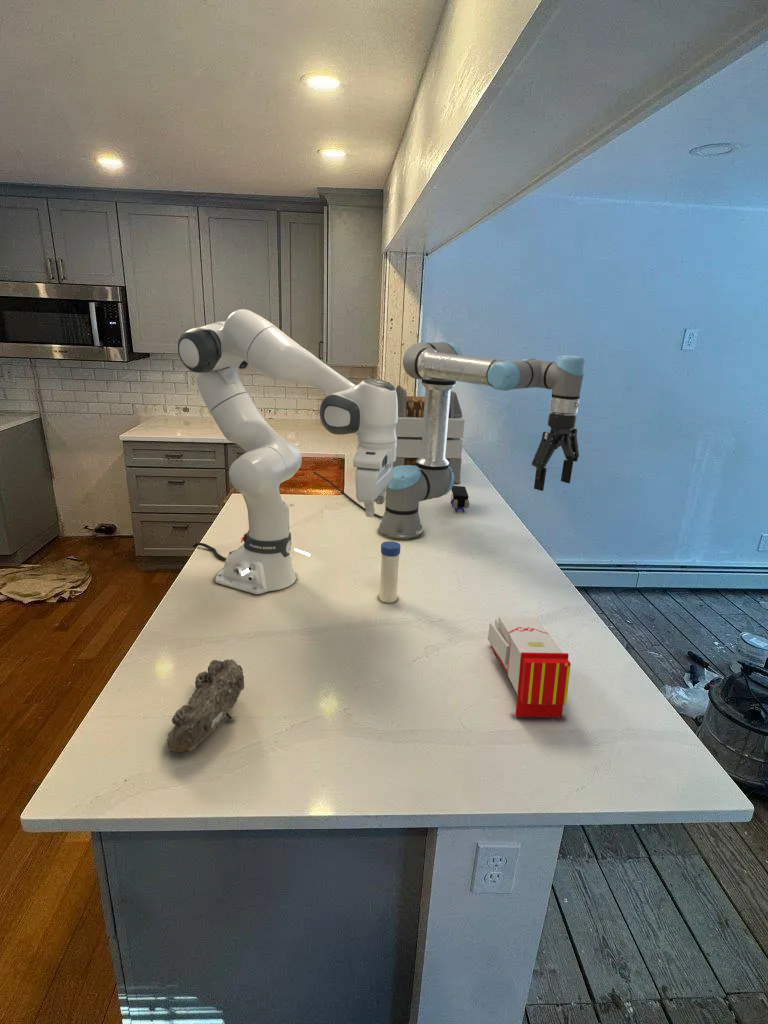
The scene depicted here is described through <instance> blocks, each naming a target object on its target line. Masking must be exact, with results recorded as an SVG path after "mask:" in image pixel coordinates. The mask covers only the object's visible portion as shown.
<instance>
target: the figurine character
mask: <svg viewBox="0 0 768 1024" xmlns="http://www.w3.org/2000/svg"><path fill="white" fill-rule="evenodd" d="M450 491H451V493H452V494H451V495H450V505H451V507H452V508H453V509H454V511H455V512H456V513H458V510H461V511H462V513H465V509H469V506H470V500H469V498H470V496H469V494H468V491H467V488H466V486H461V485H453V487H452V489H451V490H450Z"/></svg>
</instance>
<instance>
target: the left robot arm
mask: <svg viewBox="0 0 768 1024" xmlns="http://www.w3.org/2000/svg"><path fill="white" fill-rule="evenodd" d="M177 353H178V357H179V359H180V361H181V363H182V364H183V365H184V367H185V368H187V369H188V370H189V371H190V372H193V373H196V377H195V382H196V386H197V389H198V390H199V394H200V396H201V399H202V400H203V402H204V404H205V407H206V408H207V410H208V411H209V413H210V415H211V417H212V418H213V420H214V422H215V423H216V425H217V427H218V428H219V430H220V432H221V433H222V435H223V437H224V438H225V439H226V440H227V441H229V442H231V443H233V444H235V445H237V446H238V447H240V448H241V449H242V450H244V452H245V453H242V454H241V455H240V456H239V457H238V458H237V459H235V460H234V461H233V462H232V463H231V464H230V467H229V472H228V477H229V481H230V483H231V485H232V487H233V488H234V489H235V490H236V491H237V492H238V493H240V494H241V495H242V497H243V500H244V503H245V506H246V509H247V519H248V520H247V521H248V530H247V532H245V533H244V534H243V536H242V537H241V538H240V543H243V544H242V545H241V546H239V547H238V548H237V549H234V550H232V551H229V552H228V556H227V557H224V556H222V555H221V554H220V553H218V551H217V550H216V548H215V547H213V546H211V545H209V544H207V543H204V542H196V543H193V545H191V546H192V548H196V547H199V546H200V547H203V548H206V549H209V550H210V551H212V553H213V554H214V556H215V557H217V558H218V559H219V560H222V561H224V564H223V567H222V568H221V569H220V570H219V571H218V572H217V574H215V583H216V584H218V585H223V586H226V587H230V588H233V589H236V590H240V591H243V592H246V593H251V594H253V595H262V594H264V593H267V592H274V591H279V590H283V589H287V588H288V587H290V586H292V585H293V584H294V583H295V582H296V580H297V576H296V574H295V571H294V566H293V562H292V561H293V560H292V555H291V554H292V548H293V547H292V545H293V544H292V533H291V532H290V508H289V506H288V504H287V503H286V502H285V501H284V500H283V499H282V496H281V492H280V486H281V484H282V483H284V482H286V481H288V480H290V479H291V478H293V476H295V475H296V474H297V473H298V471H299V470H300V468H301V466H302V463H303V457H302V454H301V451H300V450H299V448H298V446H296V445H295V444H294V443H292V442H290V441H288V440H286V439H285V438H283V437H282V436H281V435H280V434H279V433H278V432H276V431H275V430H274V428H273V427H272V426H271V425H270V424H269V423H268V422H267V421H266V419H264V417H263V416H262V414H261V412H260V411H259V409H258V408H257V406H256V405H255V402H254V401H253V400H252V398H251V396H250V395H249V393H248V392H247V389H246V388H245V387H244V385H243V384H242V381H241V380H240V378H239V369H241V370H245V369H246V368H247V367H248V366H250V367H252V368H253V370H254V371H256V372H258V373H259V374H261V375H262V376H265V377H266V378H269V379H270V380H273V381H280V382H281V381H282V382H283V381H284V382H296V383H303V384H306V385H310V386H312V387H314V388H315V389H318V390H319V391H320V392H322V393H324V394H325V395H326V396H325V398H323V400H322V401H321V404H320V407H319V418H320V422H321V424H322V426H323V428H324V429H325V430H326V431H328V432H329V433H331V435H332V434H333V435H337V436H344V435H349V434H354V435H356V436H357V448H356V453H355V455H354V457H353V460H352V461H353V463H352V464H353V468H356V469H355V474H354V475H355V496H356V499H357V502H359V503H362V504H363V507H364V508H365V509H366V511H365V516H366V517H367V518H373V517H374V516H375V515H374V514H376V513H375V512H376V508H375V503H376V505H384V503H385V501H386V488H387V485H388V484H389V483H390V482H391V480H392V477H393V462H395V461H396V446H397V437H396V432H395V429H396V425H397V422H398V400H397V392H396V386H394V385H393V384H392V383H390V382H389V381H386V380H385V379H379V378H365V379H363V380H361V381H360V382H359V383H357V382H354V381H353V380H352V379H350V378H348V377H347V376H346V375H344V374H342V372H340V371H338V370H337V369H336V368H334V367H333V366H331V365H330V364H328V363H327V362H325V361H324V360H323V359H321V358H319V357H318V356H316V355H315V354H313V353H312V352H310V351H309V350H307V349H306V348H304V347H303V346H302V345H300V344H299V343H298V342H296V341H295V340H294V339H292V338H291V337H290V336H288V335H287V334H286V333H285V332H283V331H282V330H281V329H280V328H278V327H277V326H276V325H275V324H274V323H272V322H271V321H269V320H268V319H266V318H264V317H262V316H261V315H260V314H257V313H256V312H253V311H251V310H249V309H245V308H241V309H236V310H235V311H233V312H231V314H229V315H228V316H227V318H226V320H222V321H216V322H215V321H214V322H212V323H208V324H206V325H203V326H199V327H193V328H190V329H188V330H186V331H185V332H183V333H182V334H181V335H180V336H179V338H178V341H177ZM294 551H295V552H298V553H300V554H303V555H305V556H307V557H311V553H309V552H306V551H305V550H304V551H303V550H300V549H298V548H294Z"/></svg>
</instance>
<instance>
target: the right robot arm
mask: <svg viewBox="0 0 768 1024" xmlns="http://www.w3.org/2000/svg"><path fill="white" fill-rule="evenodd" d="M585 365H586V360H585V358H584V357H582V356H578V355H566V354H565V355H564V354H563V355H558V356H557V357H556V360H555V361H549V360H541V359H536V358H524V359H521V360H506V359H505V360H504V359H503V360H502V359H496V358H487V357H479V356H471V355H464V354H463V352H462V350H461V349H460V347H459V346H457V345H456V344H455V343H451V342H445V341H443V342H442V341H441V342H440V341H439V342H438V341H437V342H417V343H414V344H412V345H411V346H409V347H408V348H407V350H406V351H405V353H404V355H403V358H402V366H403V369H404V372H405V373H406V374H407V375H408V376H409V377H411V378H412V379H415V380H421V385H422V386H423V387H424V389H425V392H424V397H425V404H424V419H423V434H422V449H421V457H420V458H418V459H417V461H416V466H413V465H401V466H396V467H394V468H393V477H392V480H391V482H390V483H389V484H388V485H387V488H386V493H385V504H384V505H385V507H384V508H385V509H384V513H383V515H380V514H376V513H375V514H374V515H373V516H375V517H377V518H379V519H381V522H379V525H378V533H379V534H380V535H381V536H382V537H385V538H387V539H389V540H395V541H410V540H415V539H418V538H420V537H421V536H422V535H423V525H422V524H421V518H420V515H419V507H420V506H419V505H420V502H423V501H427V500H431V499H437V498H440V497H443V496H446V495H448V493H450V492H451V491H452V490H451V489H452V487H453V486H454V484H455V483H454V473H452V469H451V467H450V466H449V462H448V461H447V459H446V458H445V453H446V441H447V428H448V416H449V404H450V392H451V391H452V389H453V388H454V387H455V386H456V384H457V382H461V383H465V384H473V385H479V386H487V387H491V388H492V389H494V390H496V391H503V392H504V391H511V390H520V389H532V388H533V389H534V388H539V389H546V390H551V398H550V404H549V413H548V418H547V419H548V420H547V426H548V427H549V428H550V431H549V432H548V431H543V432H542V435H541V440H540V442H539V445H538V447H537V449H536V452H535V454H534V457H533V460H532V461H531V466H533V467H535V475H534V477H535V478H534V485H533V489H534V490H537V491H539V492H543V491H544V489H545V484H546V483H545V482H546V476H547V468H546V466H547V465H548V463H549V461H550V459H551V457H552V456H553V454H554V453H555V451H556V450H557V449H558V448H560V447H561V449H562V452H563V455H564V458H565V459H563V463H562V468H561V469H562V470H561V475H560V482H562V483H566V484H571V478H572V472H573V466H574V463H576V462H578V461H579V457H580V453H579V444H578V428H576V423H577V419H578V416H577V414H578V412H579V411H578V410H579V406H580V397H581V391H582V385H583V380H584V376H585ZM312 473H313V474H314V475H316V476H318V477H319V478H321V479H323V480H324V481H325V482H327V483H329V484H330V485H331V486H333V487H334V488H335V489H336V490H338V491H339V492H340V493H341V494H342V495H344V496H345V497H346V498H347V499H349V500H350V501H351V502H352V503H354V504H355V505H357V506H358V507H359V508H360V509H362V510H363V511H365V512H366V509H365V506H362V505H361V504H359V503H358V501H355V500H354V499H353V498H352V497H350V496H349V495H348V494H347V493H346V492H344V491H343V490H342V489H341V488H339V487H338V486H337V485H336V484H334V483H333V482H332V481H330V480H328V479H327V478H325V477H324V476H322V475H321V474H319V473H317V472H315V471H313V472H312Z"/></svg>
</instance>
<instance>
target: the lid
mask: <svg viewBox="0 0 768 1024" xmlns="http://www.w3.org/2000/svg"><path fill="white" fill-rule="evenodd" d="M380 554H383V555H386V556H397V555H399V556H400V554H401V544H400V542H397V541H394V540H393V541H389V540H388V541H383V542H382V543H381V544H380Z"/></svg>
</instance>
